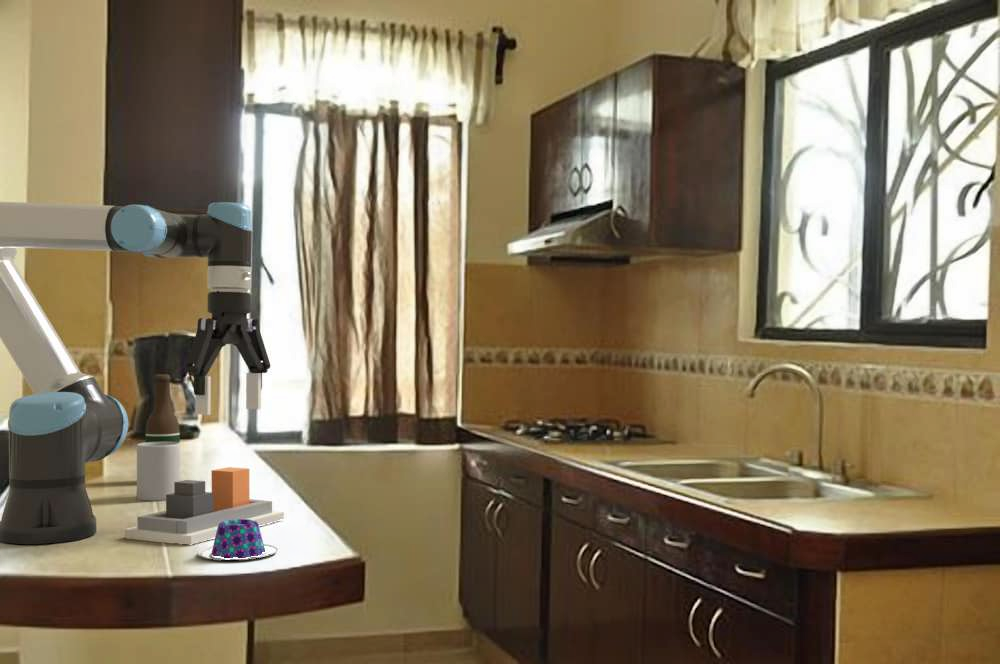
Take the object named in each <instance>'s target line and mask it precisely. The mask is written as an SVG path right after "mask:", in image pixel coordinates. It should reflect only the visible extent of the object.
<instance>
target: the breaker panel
mask: <svg viewBox="0 0 1000 664" xmlns="http://www.w3.org/2000/svg"><path fill="white" fill-rule="evenodd" d="M284 514H285V513H284V512H283V511H274V510H273V501H272V500H263V499H251V498H249V504H246V505H242V506H237V507H233V508H229V509H225V510H220V511H216V512H212V513H208V514H203V515H199V516H195V517H190V518H186V519H176V518H166V510H162V511H158V512H153V513H148V514H144V515H140V516H137V526H132V527H128V528H124V538H125V539H129V540H139V541H147V542H154V543H155V542H156V543H164V542H165V544H173V543H182V544H194V543H197V542H201V541H204V540H208V539H211V538H213V537H216V532H217V528H218V525H219V524H220V523H221V522H223V521H227V520H236V519H249V520H253V521H256V522H257V523H258V525H263V524H267V523H270V522H274V521H277V520H280V519H284V518H285V517H284V516H285V515H284ZM284 520H285V519H284ZM182 544H181V545H182Z"/></svg>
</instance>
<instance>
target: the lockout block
mask: <svg viewBox="0 0 1000 664" xmlns="http://www.w3.org/2000/svg"><path fill="white" fill-rule="evenodd" d="M211 493H214V512H216V511H220V510H225V509H229V508H233V507H237V506H242V505H246V504H249V499H250V468H248V467H247V468H245V467H243V468H242V467H223V468H217V469H212V470H211Z"/></svg>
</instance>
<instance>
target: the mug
mask: <svg viewBox="0 0 1000 664" xmlns="http://www.w3.org/2000/svg"><path fill="white" fill-rule="evenodd" d="M178 481H181V443H178V442H147V443H146V442H141V443H138V444H137V445H136V498H137V500H138V501H143V502H144V501H145V502H160V501H161V502H162V501H166V495H167V494H172V493H174V482H178Z"/></svg>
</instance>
